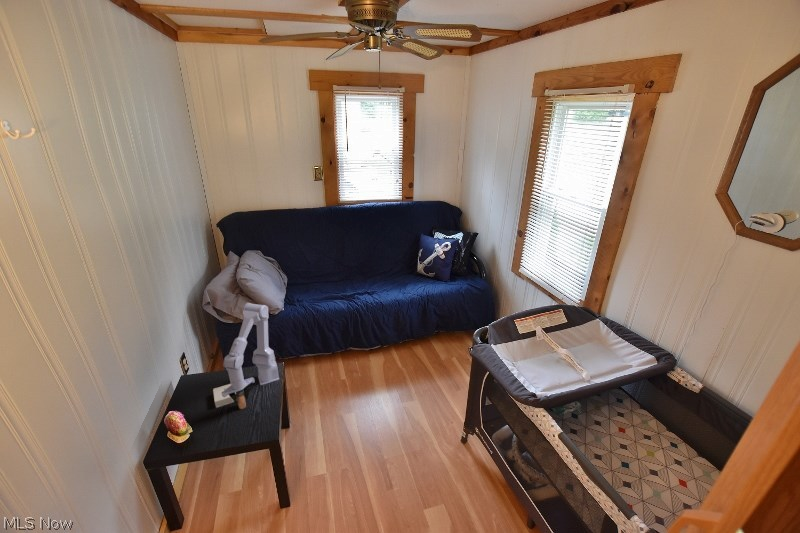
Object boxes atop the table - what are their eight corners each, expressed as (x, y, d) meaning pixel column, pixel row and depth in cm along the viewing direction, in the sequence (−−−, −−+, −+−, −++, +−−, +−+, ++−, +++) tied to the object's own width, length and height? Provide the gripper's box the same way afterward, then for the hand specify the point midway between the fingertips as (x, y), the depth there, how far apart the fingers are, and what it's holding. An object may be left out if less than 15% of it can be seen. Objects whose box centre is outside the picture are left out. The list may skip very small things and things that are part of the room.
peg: (245, 403, 175) (242, 388, 172) (246, 407, 173) (243, 392, 169) (238, 405, 174) (235, 390, 170) (239, 410, 171) (236, 394, 168)
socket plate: (244, 385, 187) (243, 379, 185) (247, 397, 179) (246, 392, 177) (214, 394, 180) (213, 388, 179) (216, 407, 172) (214, 402, 171)
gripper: (248, 366, 174) (252, 389, 179) (216, 381, 164) (222, 404, 170) (254, 373, 169) (259, 396, 175) (223, 389, 160) (228, 412, 165)
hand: (241, 400), depth 172 cm, fingers open, 4 cm apart
